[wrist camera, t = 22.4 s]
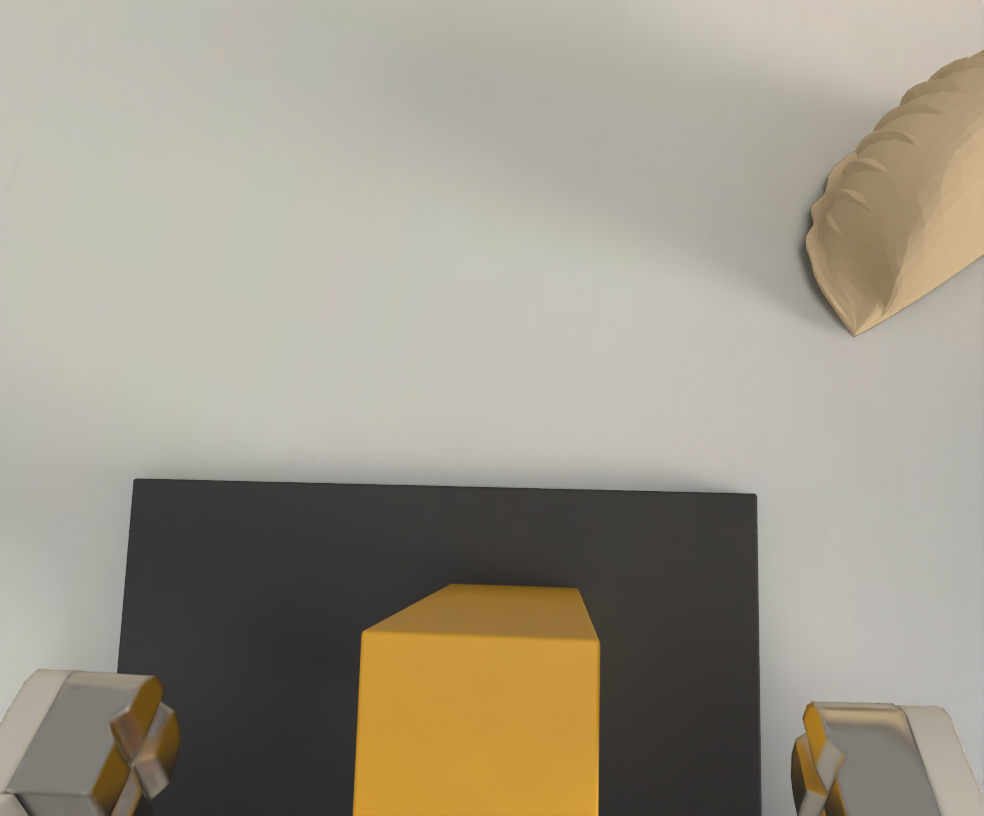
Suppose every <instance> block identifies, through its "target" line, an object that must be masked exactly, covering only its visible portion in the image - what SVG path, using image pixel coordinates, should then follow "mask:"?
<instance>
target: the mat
mask: <svg viewBox="0 0 984 816" xmlns="http://www.w3.org/2000/svg"><path fill="white" fill-rule="evenodd" d="M450 584H477V585H507V586H537V587H567V588H578V590H579V592H580V595H581V597H582V600H583V602H584V605H585V607H586V610H587V612H588V615H589V617H590V620H591V622H592V625H593V627H594V630H595V632H596V634H597V637H598V639H599V642H600V703H599V800H598V816H762V801H761V734H760V667H759V600H758V533H757V496H756V494H743V493H702V492H661V491H621V490H580V489H539V488H498V487H458V486H417V485H376V484H335V483H295V482H254V481H213V480H172V479H134V482H133V494H132V506H131V518H130V529H129V541H128V553H127V564H126V576H125V588H124V600H123V611H122V623H121V635H120V646H119V658H118V670H117V673H126V674H147V675H158V677H159V679H160V681H161V683H162V685H163V687H164V689H165V692H164V695H163V697H162V700H161V702H162V703H164V704H165V705H167V706H168V707H169V708H171V709H172V710H174V711H175V713H176V716H177V718H178V721H179V725H180V735H181V741H180V747H179V754H178V760H177V764H176V766H175V769H174V772H173V775H172V777H171V780H170V783H169V784H168V785H167V786H166V787H165V788H164V789H163V790H162V791H161V792H159V793H158V794H157V795H156V796H155V797H154V798H153V799H152V800H151V804H152V807H153V811H154V814H155V816H353V801H354V780H355V759H356V738H357V717H358V696H359V675H360V655H361V634H362V632H363V631H364V630H366V629H368V628H370V627H372V626H374V625H376V624H377V623H379V622H381V621H383V620H385V619H387V618H389V617H390V616H392V615H394V614H396V613H398V612H400V611H402V610H403V609H405V608H407V607H409V606H411V605H413V604H415V603H416V602H418V601H420V600H422V599H424V598H426V597H428V596H429V595H431V594H433V593H435V592H437V591H439V590H441V589H443V588H444V587H446V586H448V585H450Z"/></svg>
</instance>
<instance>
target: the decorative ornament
mask: <svg viewBox="0 0 984 816" xmlns="http://www.w3.org/2000/svg"><path fill="white" fill-rule="evenodd" d="M811 214H812V218H813V222H814V224H813V226H812V228H811V229H810V231H809V232H808V234H807V236H806V250H807V252H808V255H809V258H810V261H811V264H812V269H813V273H814V276H815V279H816V281H817V283H818V285H819V287H820V289H821V291H822V293H823V294H824V295H825V297H826V298H827V300H828V301H829V303H830V304H831V305H832V307H833V308H834V310H835V311H836V313H837V314H838V316H839V317H840V318H841V320H842V321H843V323H844V324H845V325H846V326H847V328H848V329H849V330H850V331H851V333H852V334H853V335H854V336H857V335H858V334H860V333H862V332H864V331H866V330H868V329H869V328H871V327H873V326H875V325H877V324H878V323H880V322H882V321H884V320H885V319H887V318H888V317H890V316H892V315H893V314H895V313H897V312H898V311H900V310H902V309H903V308H905V307H906V306H908V305H910V304H911V303H913V302H914V301H916V300H918V299H919V298H921V297H922V296H924V295H925V294H927V293H928V292H930V291H931V290H933V289H934V288H936V287H937V286H939V285H940V284H942V283H943V282H945V281H946V280H948V279H949V278H950V277H952V276H953V275H955V274H956V273H958V272H959V271H961V270H962V269H964V268H965V267H966V266H968V265H969V264H971V263H972V262H973V261H975V260H976V259H978V258H979V257H981V256H982V255H983V254H984V50H983V51H981V52H979V53H977V54H975V55H973V56H971V57H970V58H963V59H959V60H955V61H953V62H951V63H950V64H948V65H946V66H944V67H942V68H941V69H940V70H938V71H937V72H936V73H935V74H934V75H933V76H931V77H930V79H929V80H928V81H926V82H923V83H920V84H918V85H915V86H914V87H912V88H911V89H909V90H908V91H907V92H906V94H905V95H904V96H903V98H902V99H901V102H900V105H899V107H897V108H895V109H893V110H891V111H890V112H888V113H887V114H886V115H885V116H883V117H882V119H881V120H880V121H879V123H878V124H877V125H876V126H875V128H874V131H873V133H871V134H869V135H868V136H866V137H865V138H864V139H863V140H862V141H861V142H860V144H859V145H858V147H857V148H856V151H854V152H853V153H851V154H850V155H848V156H847V157H845V158H844V159H843V160H841V161H840V162H839V163H838V164H837V165H836V166H835V167H834V168H833V170H832V171H831V173H830V174H829V176H828V181H827V188H826V191H825V193H824V195H823V196H822V197H820V198H819V199H818V200H817V201H816V202H815V203H814V204H813V206H812V208H811Z"/></svg>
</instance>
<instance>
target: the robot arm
mask: <svg viewBox="0 0 984 816" xmlns="http://www.w3.org/2000/svg"><path fill="white" fill-rule="evenodd" d="M164 692H165V689H164V687H163V685H162V683H161V681H160V679H159V677H158V675H147V674H126V673H106V672H85V671H78V670H50V669H38V670H37V671H36V672H35V673H33V674H32V675H31V676H30V677H29V678H28V679H27V680H26V681H25V682H24V684H23V685H22V687H21V689H20V690H19V692H18V694H17V695H16V697H15V699H14V700H13V702H12V704H11V706H10V707H9V709H8V711H7V712H6V714H5V716H4V717H3V719H2V721H1V722H0V816H155V814H154V811H153V807H152V804H151V800H152V799H153V798H154V797H155V796H156V795H157V794H158V793H159V792H161V791H162V790H163V789H164V788H165V787H166V786H167V785H168V784H169V783H170V780H171V777H172V775H173V772H174V769H175V766H176V764H177V760H178V754H179V747H180V741H181V735H180V725H179V721H178V718H177V716H176V713H175V711H174V710H172V709H171V708H169V707H168V706H167V705H165V704H164V703H162V702H161V700H162V697H163V695H164ZM803 721H804V726H805V730H806V733H805V734H803V735H801V736H800V737H798V738H797V739H796V740H795V744H794V748H793V752H792V759H791V781H792V790H793V797H794V802H795V807H796V812H797V816H984V797H983V795H982V792H981V790H980V788H979V785H978V783H977V780H976V778H975V775H974V773H973V770H972V768H971V765H970V763H969V761H968V758H967V756H966V753H965V751H964V748H963V746H962V743H961V741H960V738H959V736H958V734H957V731H956V729H955V726H954V724H953V721H952V719H951V717H950V715H949V714H948V713H947V712H946V711H945V710H944V709H943V708H941V707H938V706H923V705H895V704H894V703H853V702H811V703H810V704H808V705H807V707H806V710H805V712H804V715H803Z"/></svg>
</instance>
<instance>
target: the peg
mask: <svg viewBox="0 0 984 816" xmlns="http://www.w3.org/2000/svg"><path fill="white" fill-rule="evenodd" d="M599 703H600V642H599V639H598V637H597V634H596V632H595V630H594V627H593V625H592V622H591V620H590V617H589V615H588V612H587V610H586V607H585V605H584V602H583V600H582V597H581V595H580V592H579V590H578V588H567V587H537V586H507V585H477V584H450V585H448V586H446V587H444V588H443V589H441V590H439V591H437V592H435V593H433V594H431V595H429V596H428V597H426V598H424V599H422V600H420V601H418V602H416V603H415V604H413V605H411V606H409V607H407V608H405V609H403V610H402V611H400V612H398V613H396V614H394V615H392V616H390V617H389V618H387V619H385V620H383V621H381V622H379V623H377V624H376V625H374V626H372V627H370V628H368V629H366V630H364V631H363V632H362V634H361V655H360V675H359V696H358V717H357V738H356V759H355V780H354V801H353V816H598V800H599Z"/></svg>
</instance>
